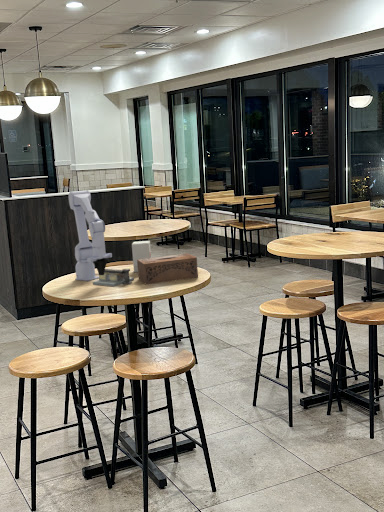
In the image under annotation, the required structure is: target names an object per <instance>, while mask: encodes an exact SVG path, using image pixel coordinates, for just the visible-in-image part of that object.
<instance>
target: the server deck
mask: <svg viewBox="0 0 384 512" xmlns="http://www.w3.org/2000/svg"><path fill="white" fill-rule="evenodd" d="M133 281H135V278H134V277H131V276H130V271H129V272H124V280H122V281H119V282H113V281H110V280H108V281H102V280H99V279H97V280H95V281H93V282H92V285H95V286H105V287H106V286H107V287H116V286H121V285H124V286H125V285H126V286H127V285H131V284H133Z"/></svg>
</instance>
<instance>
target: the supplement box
mask: <svg viewBox="0 0 384 512" xmlns="http://www.w3.org/2000/svg"><path fill="white" fill-rule="evenodd" d="M131 251H132V264H133V273H138V264H137V260H138V259H146V258H152V252H151V251H152V250H151V240H142V241H141V240H139V241H133V242H132V243H131Z"/></svg>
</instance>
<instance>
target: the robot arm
mask: <svg viewBox="0 0 384 512" xmlns="http://www.w3.org/2000/svg"><path fill="white" fill-rule="evenodd" d="M91 199H92V196H91V192H90V191H89V190H88V189H86V190H80V191H79V190H78V191H77V190H76V191H69V193H68V204H69V207H70V210H73V214H74V217H75V218H74V219H75V224H76V231H77V236H78V243H77V244H76V245H75V247H74V256H75V257H74V258H75V260H76V264H75V277H76V278H75V280H78V281H87V282H89V281H92V280H96V279H99V275H104V272H105V269H106V267H107V264H108V259H109V258H112V257H113V253H112V252H109V253H107V252H106V244H105V243H106V242H105V231H106V224H105V222H104V220H102V218H101V219H100V217H99V215H98V213H97V211H96V210H95V209H93V208H92V205H91V201H92V200H91ZM87 225H88V227H87ZM88 229H89V230H88ZM88 231H89V232H88ZM89 234H90V237H89ZM89 238H91V241H90V239H89ZM95 268H96V269H97V273H98V276H96V270H95Z"/></svg>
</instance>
